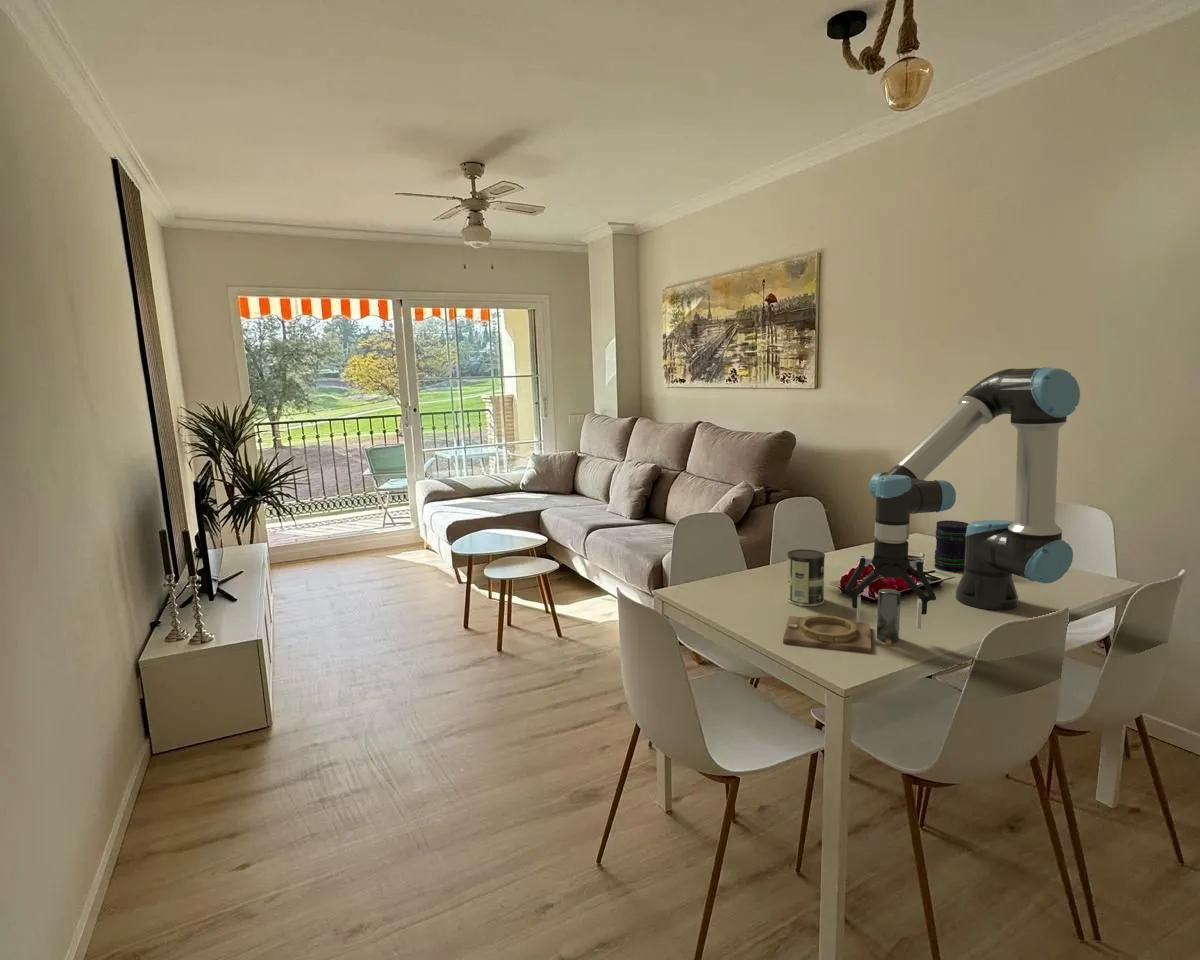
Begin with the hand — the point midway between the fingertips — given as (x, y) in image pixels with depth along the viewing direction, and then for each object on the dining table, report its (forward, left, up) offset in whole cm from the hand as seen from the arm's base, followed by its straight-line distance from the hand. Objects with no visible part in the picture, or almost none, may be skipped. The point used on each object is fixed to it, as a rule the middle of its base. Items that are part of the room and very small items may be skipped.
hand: (887, 623), depth 161 cm
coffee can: (+21, -23, -4) cm, 31 cm away
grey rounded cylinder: (0, 0, -4) cm, 4 cm away
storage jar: (-22, -68, -4) cm, 72 cm away
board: (+14, +2, -4) cm, 15 cm away
